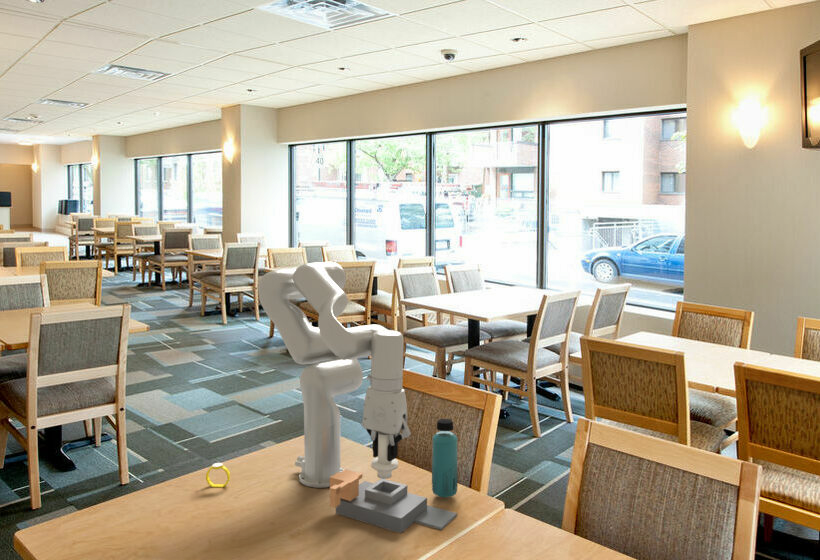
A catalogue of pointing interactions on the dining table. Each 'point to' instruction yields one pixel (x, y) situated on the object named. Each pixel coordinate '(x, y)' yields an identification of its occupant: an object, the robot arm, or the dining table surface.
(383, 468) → the plug
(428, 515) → the mat
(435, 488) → the beverage bottle
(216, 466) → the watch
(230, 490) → the dining table surface
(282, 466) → the dining table surface
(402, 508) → the grey base plate
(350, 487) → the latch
